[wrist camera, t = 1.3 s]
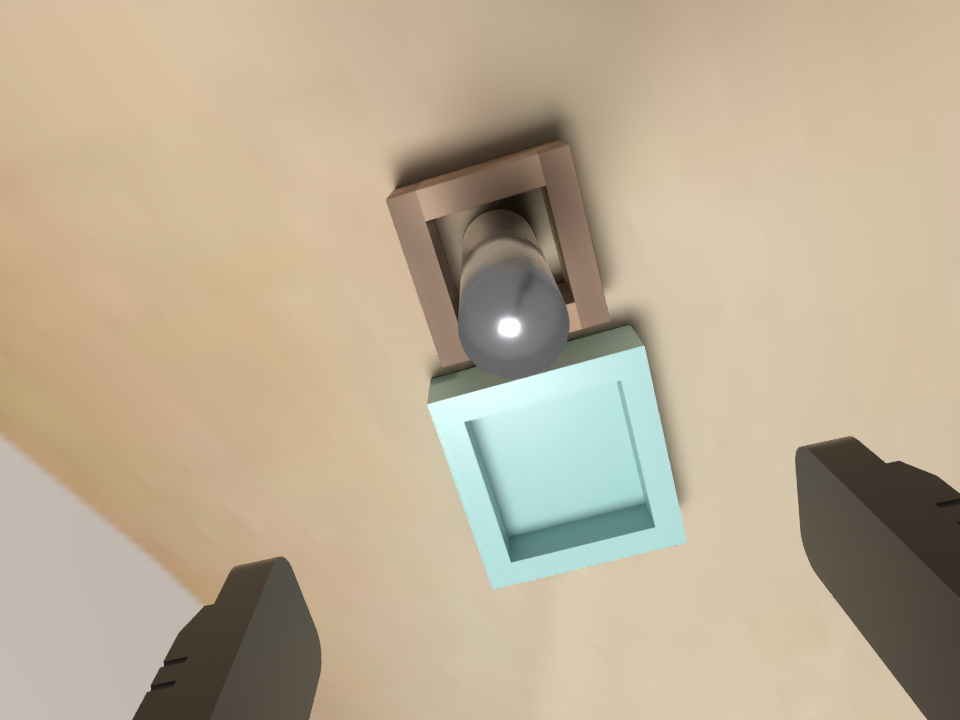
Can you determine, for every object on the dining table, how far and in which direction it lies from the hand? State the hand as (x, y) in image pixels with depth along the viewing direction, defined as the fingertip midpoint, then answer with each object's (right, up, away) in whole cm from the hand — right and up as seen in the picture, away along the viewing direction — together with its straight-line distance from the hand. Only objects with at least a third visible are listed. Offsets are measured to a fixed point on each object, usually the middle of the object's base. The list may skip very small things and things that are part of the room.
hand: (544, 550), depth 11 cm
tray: (+4, -2, +31) cm, 32 cm away
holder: (0, +9, +27) cm, 28 cm away
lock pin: (0, +9, +27) cm, 28 cm away
